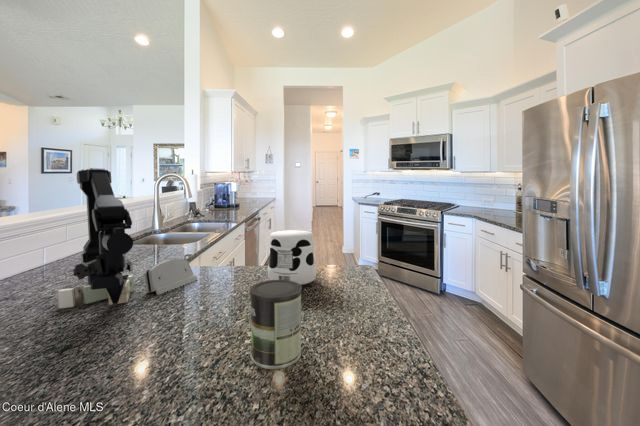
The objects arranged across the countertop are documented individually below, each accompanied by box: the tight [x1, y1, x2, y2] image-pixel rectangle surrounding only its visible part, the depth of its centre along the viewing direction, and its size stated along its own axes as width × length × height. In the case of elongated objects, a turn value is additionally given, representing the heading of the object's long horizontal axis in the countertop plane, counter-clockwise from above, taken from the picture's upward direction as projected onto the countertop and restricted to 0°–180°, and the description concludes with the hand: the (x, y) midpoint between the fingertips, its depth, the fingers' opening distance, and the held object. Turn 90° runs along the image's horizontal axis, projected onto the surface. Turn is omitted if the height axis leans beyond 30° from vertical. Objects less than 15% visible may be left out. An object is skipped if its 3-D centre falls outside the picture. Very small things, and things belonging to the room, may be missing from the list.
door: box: [82, 275, 135, 305], centre depth 91 cm, size 3×13×5 cm, turn 147°
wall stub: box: [57, 287, 76, 310], centre depth 84 cm, size 2×3×5 cm, turn 114°
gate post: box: [73, 285, 84, 307], centre depth 85 cm, size 2×2×6 cm
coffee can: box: [249, 279, 303, 370], centre depth 59 cm, size 10×10×14 cm
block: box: [108, 280, 131, 306], centre depth 89 cm, size 7×4×5 cm, turn 27°
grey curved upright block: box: [143, 258, 198, 296], centre depth 102 cm, size 17×5×10 cm, turn 156°
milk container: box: [267, 229, 317, 287], centre depth 104 cm, size 17×17×18 cm
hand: (115, 303), depth 83 cm, fingers closed
